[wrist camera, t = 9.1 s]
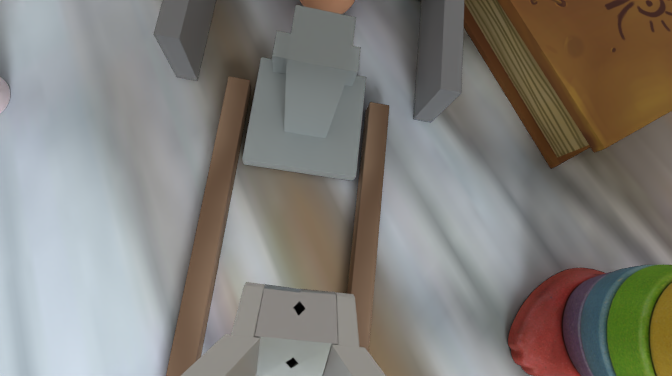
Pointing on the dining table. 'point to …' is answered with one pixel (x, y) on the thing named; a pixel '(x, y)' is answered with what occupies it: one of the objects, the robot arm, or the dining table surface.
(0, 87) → the smoothie
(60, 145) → the dining table surface
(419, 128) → the dining table surface
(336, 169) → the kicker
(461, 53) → the grey walled tray
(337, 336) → the robot arm
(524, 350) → the stacking bear
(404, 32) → the dining table surface
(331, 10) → the ball
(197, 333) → the lane
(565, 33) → the diary
